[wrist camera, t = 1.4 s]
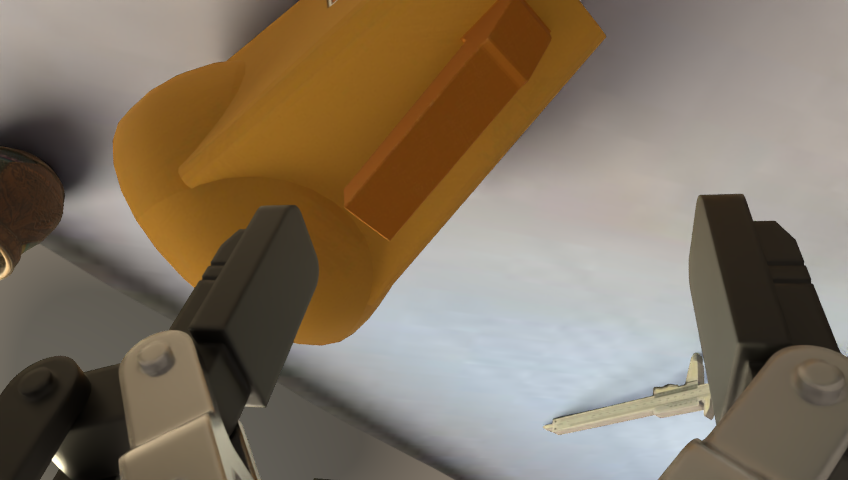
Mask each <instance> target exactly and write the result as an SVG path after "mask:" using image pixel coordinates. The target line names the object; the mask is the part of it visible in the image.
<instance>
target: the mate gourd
mask: <svg viewBox="0 0 848 480" xmlns="http://www.w3.org/2000/svg"><path fill="white" fill-rule="evenodd" d="M64 199H65V193H64V188H63V185H62V183H61V181H60V179H59V178H58V176H57V174H56V173H55V172H54V171H53V170H52V168H50V167H49V166H48V165H47V164H46V163H45V162H43V161H42V160H41V159H39V158H38V157H36V156H34V155H33V154H30V153H28V152H25V151H22V150H18V149H14V148H7V147H0V280H2V279H4V278H6V277H8V276H9V275H10V274H11V273H12V272H13V270H14V267H15V266H16V265H17V263H18V262H19V260H20V257H21V254H22V253H24V252H25V251H27V250H29V249H30V248H32V247H34V246H35V245H37V244H39V243H40V242H42V241H43V240H44V239H45V238H46V237H47V236H48V235H49V234H50V233H51V232H52V231H53V230H54V229H55V228H56V226H57V225H58V224H59V222H60V221H61V218H62V214H63V206H64V204H63V203H64Z"/></svg>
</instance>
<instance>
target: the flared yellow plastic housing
mask: <svg viewBox="0 0 848 480" xmlns="http://www.w3.org/2000/svg"><path fill="white" fill-rule="evenodd" d="M605 38H606V35H605V34H604V32H603V31H602V29H601V28H600V27H599V25H598V24H597V23H596V21H595V20H594V19H593V18H592V16H591V15H590V14H589V12H588V11H587V10H586V9H585V7H584V6H583V5H582V3H581V2H580V1H579V0H300V1H298V2H297V3H296V4H295V5H294V6H292V7H291V8H290V9H289V10H287V11H286V12H285V13H284V14H283V15H281V16H280V17H279V18H278V19H277V20H275V21H274V22H273V23H272V24H271V25H269V26H268V27H267V28H266V29H265V30H263V31H262V32H261V33H260V34H259V35H257V36H256V37H255V38H254V39H252V40H251V41H250V42H249V43H248V44H246V45H245V46H244V47H243V48H242V49H240V50H239V51H238V52H237V53H236V54H234V55H233V56H232V57H231V58H230V59H228V60H227V61H226V62H218V63H213V64H209V65H206V66H203V67H200V68H197V69H194V70H191V71H187V72H185V73H182V74H180V75H177V76H175V77H173V78H171V79H170V80H168V81H166V82H165V83H163V84H161V85H159V86H158V87H156V88H154V89H152V90H151V91H149V92H148V93H147V94H146V95H145V96H144V97H143V98H142V99H141V100H140V101H139V102H138V103H136V104H135V105H134V106H133V107H132V108H131V109H130V110H129V111H128V112H127V113H126V115H125V116H124V117H123V118H122V119H121V120H120V122H119V123H118V126H117V129H116V132H115V135H114V138H113V163H114V167H115V171H116V174H117V178H118V181H119V185H120V188H121V191H122V193H123V195H124V197H125V199H126V201H127V203H128V205H129V207H130V209H131V211H132V213H133V215H134V217H135V219H136V221H137V222H138V223H139V225H140V226H141V228H142V229H143V231H144V232H145V233H146V235H147V236H148V238H149V239H150V240H151V242H152V243H153V245H154V246H155V247H156V249H157V250H158V251H159V252H160V253H161V255H162V256H163V257H164V258H165V259H166V260H167V261H168V262H169V263H170V264H171V265H172V266H173V268H174V269H175V270H176V271H177V272H178V273H179V274H180V275H181V276H182V277H183V278H184V279H185V280H186V281H187V282H188V283H190V284H191V285H192V286H193V287H194V288H195V287H196V285H197V283H198V282H199V280H202V275H203V274H204V272H205V270H206V269H207V267H208V266H211V263H210V262H211V261H212V259H213V257H214V256H215V254H216V253H217V251H218V249H219V248H220V246H221V245H222V244H223V243H224V242H225V241H226V240H227V239H229V238H230V237H231V236H232V235H233V234H234V233H235V232H237V231H238V230H239V229H246V228H247V226H248V224H249V223H250V221H251V219H252V218H253V216H254V214H255V212H256V211H257V209H258V208H259V207H260V206H266V205H296V206H297V207H298V208H299V209H300V211H301V213H302V216H303V219H304V222H305V224H306V227H307V230H308V233H309V235H310V238H311V241H312V244H313V247H314V249H315V252H316V255H317V258H318V263H319V278H318V283H317V286H316V289H315V291H314V294H313V296H312V298H311V301H310V303H309V306H308V308H307V310H306V313H305V315H304V318H303V320H302V322H301V325H300V327H299V330H298V332H297V334H296V337H295V339H294V343H297V344H308V345H326V344H331V343H336V342H340V341H342V340H344V339H345V338H347V337H348V336H350V335H352V334H353V333H354V332H356V331H357V330H358V329H359V328H360V327H361V326H362V325H363V324H364V323H365V322H366V321H367V320H368V319H369V318H370V316H371V315H372V314H373V312H374V311H375V310H376V309H377V307H378V306H379V305H380V303H381V302H382V300H383V299H384V297H385V296H386V294H387V293H388V291H389V290H390V288H391V287H392V285H393V284H394V283H395V282H396V280H397V279H398V278H399V277H400V276H401V275H402V273H403V272H404V271H405V270H406V269H407V268H408V266H409V265H410V264H411V263H412V262H413V261H414V259H415V258H416V257H417V256H418V255H419V254H420V252H421V251H422V250H423V249H424V248H425V247H426V246H427V244H428V243H429V242H430V241H431V240H432V239H433V237H434V236H435V235H436V234H437V233H438V232H439V230H440V229H441V228H442V227H443V226H444V225H445V223H446V222H447V221H448V220H449V219H450V218H451V216H452V215H453V214H454V213H455V212H456V211H457V210H458V208H459V207H460V206H461V205H462V204H463V203H464V201H465V200H466V199H467V198H468V197H469V196H470V194H471V193H472V192H473V191H474V190H475V189H476V187H477V186H478V185H479V184H480V183H481V182H482V181H483V179H484V178H485V177H486V176H487V175H488V174H489V172H490V171H491V170H492V169H493V168H494V167H495V165H496V164H497V163H498V162H499V161H500V160H501V158H502V157H503V156H504V155H505V154H506V153H507V151H508V150H509V149H510V148H511V147H512V146H513V145H514V143H515V142H516V141H517V140H518V139H519V138H520V136H521V135H522V134H523V133H524V132H525V131H526V129H527V128H528V127H529V126H530V125H531V124H532V122H533V121H534V120H535V119H536V118H537V117H538V116H539V114H540V113H541V112H542V111H543V110H544V109H545V107H546V106H547V105H548V104H549V103H550V102H551V100H552V99H553V98H554V97H555V96H556V95H557V93H558V92H559V91H560V90H561V89H562V88H563V86H564V85H565V84H566V83H567V82H568V81H569V80H570V78H571V77H572V76H573V75H574V74H575V73H576V71H577V70H578V69H579V68H580V67H581V66H582V64H583V63H584V62H585V61H586V60H587V59H588V57H589V56H590V55H591V54H592V53H593V52H594V50H595V49H596V48H597V47H598V46H599V45H600V44H601V42H602V41H603V40H604V39H605Z"/></svg>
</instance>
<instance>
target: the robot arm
mask: <svg viewBox="0 0 848 480" xmlns="http://www.w3.org/2000/svg"><path fill="white" fill-rule="evenodd" d="M210 263H211V266H208V267H207V269H206V270H205V272H204V274H203V275H202V280H199V282H198V283H197V285H196V287H195V288H194V290H193V292H192V293H191V295H190V296H189V298H188V300H187V301H186V303H185V305H184V306H183V308H182V309H181V311H180V313H179V314H178V316H177V318H176V319H175V321H174V322H173V324H172V326H171V327H170V329H169V330H167V331H162V332H158V333H155V334H153V335H150V336H148V337H147V338H145V339H143V340H141V341H140V342H139V343H137V344H136V345H135V346H134V347H132V348H131V349H130V350H129V351H128V353H127V354H126V355H125V357H124V358H123V360H122V362H121V363H119V364H116V365H111V366H107V367H103V368H99V369H95V370H91V371H87V372H83V371H82V370H81V369H80V367H79V366H78V365H77V364H76V362H75V361H74V360H73V359H71V358H69V357H66V356H54V357H49V358H46V359H43V360H40V361H38V362H36V363H34V364H32V365H30V366H28V367H27V368H25V369H24V370H23V371H21V372H20V373H19V374H18V375H16V377H14V378H13V379H12V380H11V381H10V383H9V384H8V385H7V386H6V388H5V389H4V391H3V392H2V393H1V395H0V480H40V479H41V477H42V475H43V474H44V472H45V470H46V469H47V467H48V465H49V464H50V462H51V460H52V461H53V462H54V463H55V464H56V465H57V466H58V467H59V468H60V469H59V470H58V472H57V474H56V476H55V477H54V479H53V480H261V477H260V474H259V471H258V469H257V466H256V463H255V460H254V457H253V454H252V451H251V448H250V445H249V442H248V439H247V437H246V433H245V430H244V427H243V425H242V423H241V422H240V420H239V418H240V416H241V414H242V411H243V409H244V407H264V408H266V406H267V404H268V401H269V399H270V397H271V394H272V392H273V390H274V387H275V385H276V382H277V380H278V378H279V375H280V373H281V370H282V368H283V366H284V363H285V361H286V358H287V356H288V354H289V351H290V349H291V346H292V344H293V342H294V339H295V337H296V334H297V332H298V330H299V327H300V325H301V322H302V320H303V318H304V315H305V313H306V310H307V308H308V306H309V303H310V301H311V298H312V296H313V294H314V291H315V289H316V286H317V283H318V278H319V263H318V258H317V255H316V252H315V249H314V247H313V244H312V241H311V238H310V235H309V233H308V230H307V227H306V224H305V222H304V219H303V216H302V213H301V211H300V209H299V208H298V207H297V206H296V205H266V206H260V207H259V208H258V209H257V211H256V212H255V214H254V216H253V218H252V219H251V221H250V223H249V224H248V226H247V228H246V229H239V230H238V231H237V232H235V233H234V234H233V235H232V236H231V237H230V238H229V239H227V240H226V241H225V242H224V243H223V244H222V245H221V246H220V248H219V249H218V251H217V253H216V254H215V256H214V257H213V259H212V261H211V262H210ZM689 284H690V290H691V296H692V301H693V306H694V311H695V316H696V322H697V327H698V332H699V337H700V342H701V348H702V353H703V358H704V363H705V368H706V373H707V379H708V384H709V389H710V394H711V399H712V405H713V410H714V415H715V420H716V427H715V428H714V429H713V430H712V432H711V433H710V434H709V435H708V436H707V437H706V438H705V439H704V440H702V441H701V440H700V439H698V438H696V439H693V440H692V441H690V442H689V443H688V444H687V445H686V446H685V447H684V448H683V449H682V451H681V452H680V453H679V454H678V455H677V457H676V458H675V459H674V460H673V462H672V463H671V464H670V465H669V467H668V468H667V469H666V470H665V471H664V473H663V474H662V475H661V476H660V478H659V479H658V480H848V357H846V356H844V355H842V354H841V352H840V350H839V348H838V346H837V343H836V341H835V338H834V336H833V333H832V331H831V328H830V326H829V323H828V321H827V318H826V315H825V313H824V310H823V308H822V305H821V303H820V300H819V298H818V295H817V293H816V290H815V288H814V285H813V284H811V278H810V275H809V273H808V270H807V267H806V266H804V260H803V257H802V255H801V252H800V250H799V247H798V245H797V242H796V240H795V239H794V238H793V237H792V236H791V235H790V234H789V233H788V232H787V231H786V230H784V229H783V228H782V227H781V226H780V225H779V224H778V223H777V222H776V221H753V219H752V216H751V213H750V210H749V207H748V204H747V201H746V199H745V196H744V195H743V194H718V195H699V196H698V199H697V203H696V210H695V217H694V225H693V232H692V240H691V247H690V255H689ZM314 480H329V479H316V478H314Z"/></svg>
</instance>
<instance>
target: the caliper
mask: <svg viewBox="0 0 848 480" xmlns="http://www.w3.org/2000/svg"><path fill="white" fill-rule="evenodd" d="M701 410H704V416H706V417H707V418H709V419H710V420H712V419H713V417H714V410H713V405H712V399H711V394H710V389H709V384H708V383H707V384H704V366H703V359H702V357H701V356H700V355H698V354H697V353H694V354H693V356H692V357H691V361H690V365H689V370H688V374H687V378H686V382H685V385H681V386H678V385H673V384H667V385H665V386H663V387H654V388H653V396H650V397H645V398H641V399H637V400H633V401H629V402H624V403H620V404H616V405H612V406H608V407H603V408H599V409H594V410H590V411H586V412H581V413H577V414H572V415H568V416H564V417H559V418H555V419H553V423H552V424H549V425H545V426H543V428H544V429H546V430H548V431H550V432H553V433H556V434H558V435H562V434H566V433H571V432H576V431H581V430H586V429H591V428H595V427H600V426H605V425H610V424H614V423H619V422H624V421H628V420H633V419H638V418H643V417H647V416H652V415H656V416H658V417H659V418H664V417H669V416H674V415H680V414H685V413H690V412H696V411H701Z"/></svg>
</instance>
